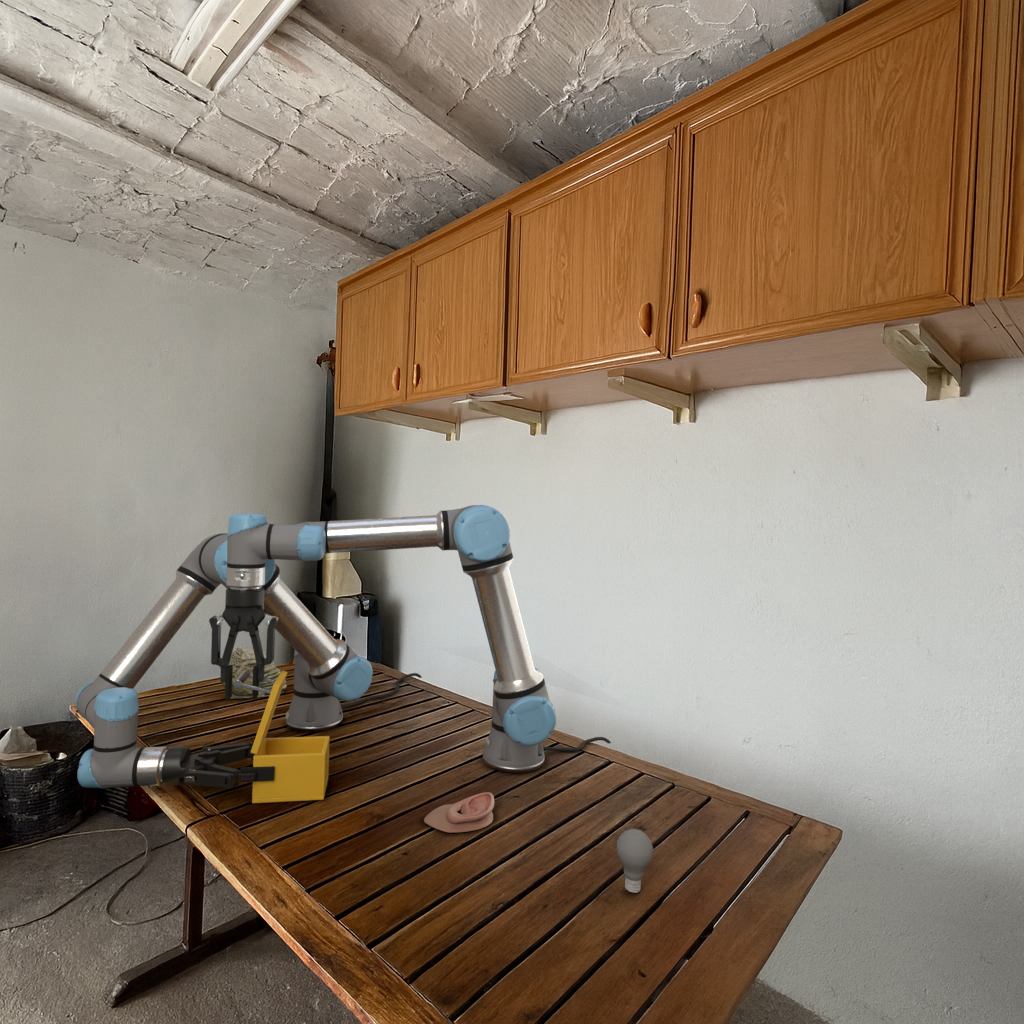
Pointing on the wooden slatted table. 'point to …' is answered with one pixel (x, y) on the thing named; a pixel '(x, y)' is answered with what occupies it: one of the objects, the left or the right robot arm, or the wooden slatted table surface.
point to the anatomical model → (463, 814)
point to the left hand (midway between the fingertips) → (278, 762)
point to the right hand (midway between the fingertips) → (241, 696)
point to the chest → (293, 769)
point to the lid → (269, 707)
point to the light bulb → (634, 857)
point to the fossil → (246, 661)
